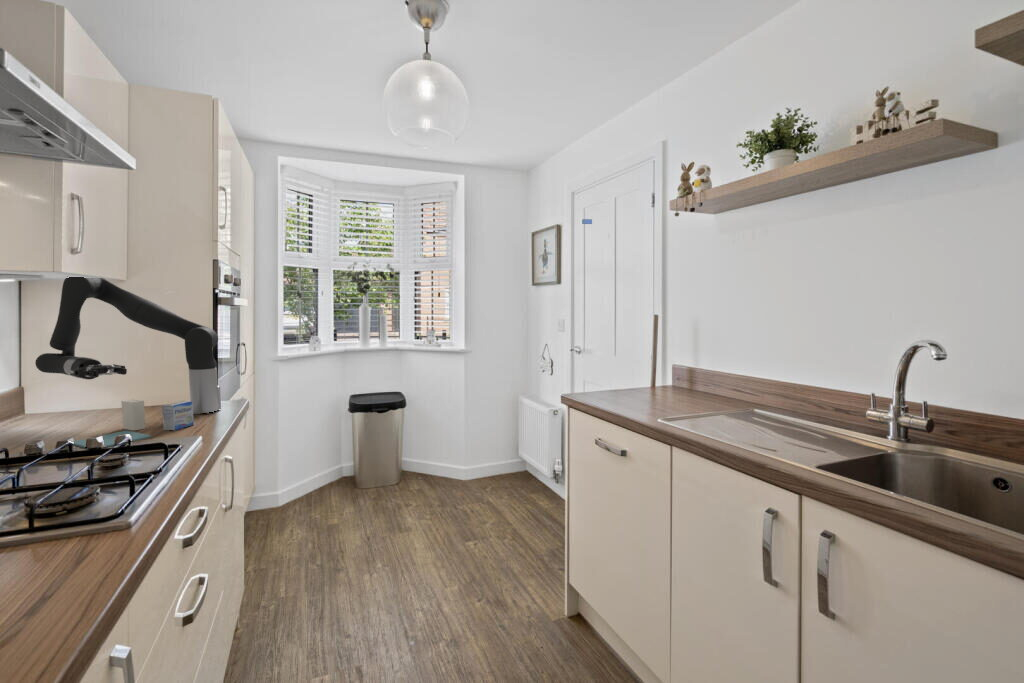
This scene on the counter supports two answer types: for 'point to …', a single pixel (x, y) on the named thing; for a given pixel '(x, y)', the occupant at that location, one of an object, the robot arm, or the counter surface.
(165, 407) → the medicine box
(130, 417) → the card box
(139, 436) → the mat
